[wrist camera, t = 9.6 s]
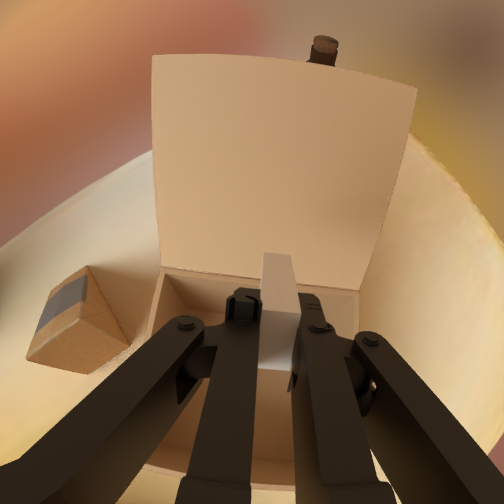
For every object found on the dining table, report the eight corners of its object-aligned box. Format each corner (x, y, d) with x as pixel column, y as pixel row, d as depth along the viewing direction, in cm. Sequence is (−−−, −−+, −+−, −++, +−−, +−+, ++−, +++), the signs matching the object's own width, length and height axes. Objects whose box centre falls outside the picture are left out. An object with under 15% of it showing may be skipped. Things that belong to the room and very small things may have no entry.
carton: (313, 464, 33) (343, 490, 21) (159, 445, 33) (125, 463, 22) (327, 322, 42) (359, 291, 30) (183, 304, 42) (160, 266, 30)
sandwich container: (88, 263, 44) (41, 212, 31) (132, 345, 39) (82, 317, 26) (48, 292, 42) (-7, 250, 29) (87, 375, 37) (24, 360, 23)
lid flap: (418, 88, 18) (415, 87, 19) (152, 55, 19) (155, 55, 19) (358, 289, 30) (357, 285, 30) (161, 265, 30) (163, 262, 31)
